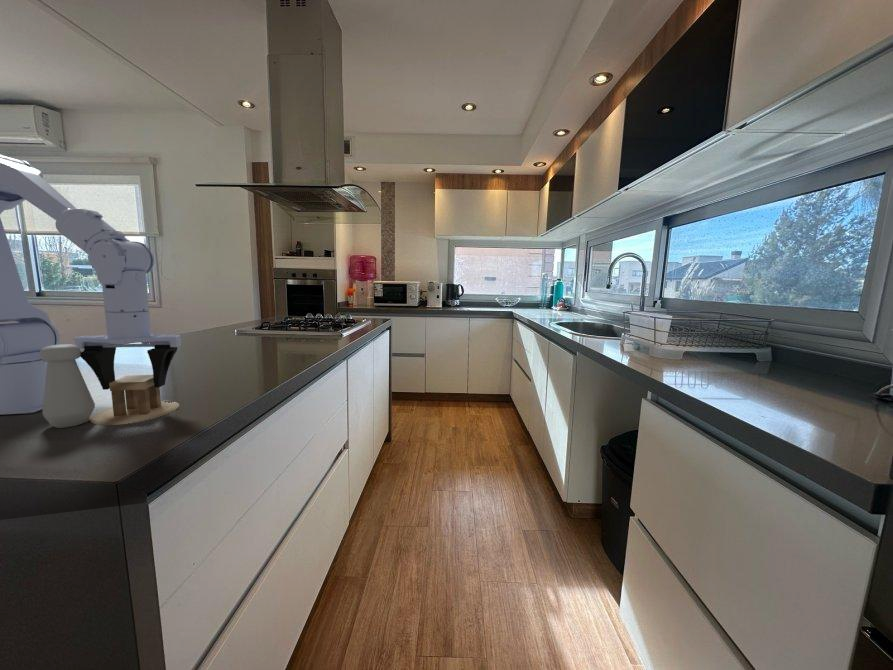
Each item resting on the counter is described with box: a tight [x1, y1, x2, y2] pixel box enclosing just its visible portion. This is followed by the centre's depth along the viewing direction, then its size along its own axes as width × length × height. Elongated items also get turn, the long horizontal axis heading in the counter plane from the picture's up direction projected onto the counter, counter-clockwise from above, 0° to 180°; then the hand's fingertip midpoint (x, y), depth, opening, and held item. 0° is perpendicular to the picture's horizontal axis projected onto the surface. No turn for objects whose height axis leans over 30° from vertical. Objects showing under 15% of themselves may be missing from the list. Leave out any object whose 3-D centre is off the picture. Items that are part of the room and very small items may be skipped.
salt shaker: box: [40, 343, 96, 429], centre depth 56 cm, size 6×6×13 cm
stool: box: [109, 374, 161, 416], centre depth 62 cm, size 5×5×6 cm
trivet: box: [89, 400, 180, 426], centre depth 62 cm, size 12×12×1 cm
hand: (134, 387), depth 62 cm, fingers open, 7 cm apart
